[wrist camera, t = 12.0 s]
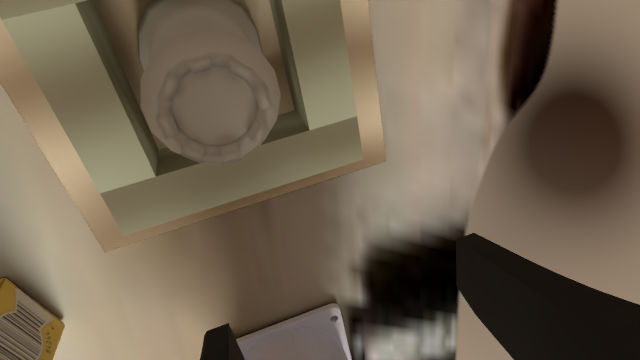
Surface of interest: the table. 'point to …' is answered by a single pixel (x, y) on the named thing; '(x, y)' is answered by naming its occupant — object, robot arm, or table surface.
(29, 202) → the table surface
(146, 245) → the table surface
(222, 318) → the table surface
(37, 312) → the candy box
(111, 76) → the socket stand
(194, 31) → the rook chess piece
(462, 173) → the table surface
